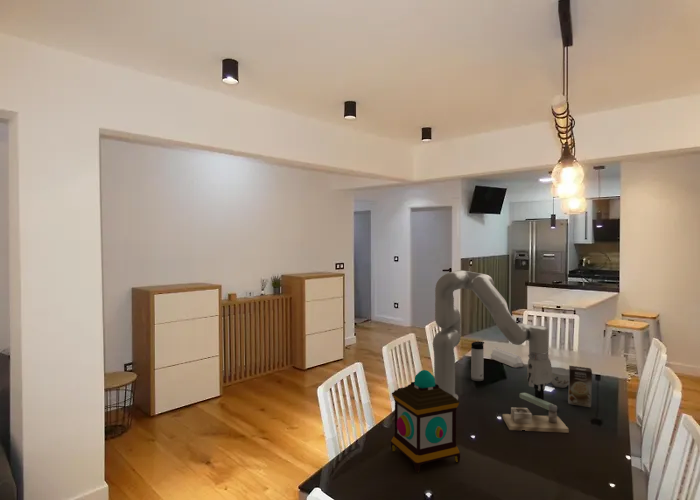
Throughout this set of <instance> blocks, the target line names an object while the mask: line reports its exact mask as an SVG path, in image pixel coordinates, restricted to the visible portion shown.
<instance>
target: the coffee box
mask: <svg viewBox="0 0 700 500" xmlns="http://www.w3.org/2000/svg"><path fill="white" fill-rule="evenodd" d="M568 369H569V385H568V393H567V401H568V402H567V403H568V405H573V406H574V405H575V406H578V407H579V406H580V407H586V408H592V387H593V386H592V379H593V377H592V376H593V371H592V368H591V367H583V366H576V365H569V368H568Z"/></svg>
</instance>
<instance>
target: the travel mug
mask: <svg viewBox="0 0 700 500" xmlns="http://www.w3.org/2000/svg"><path fill="white" fill-rule="evenodd" d="M484 344H485V342H484V341H473V342H471V345H470V346H471V347H470V348H471V352H470V353H471V355H470V356H471V357H470V359H471V361H470V372H471V373H470V376H471V377H470V379H471V380H472V381H474V382H481V381H484V360H485V359H484V357H485V356H484V354H485V353H484V349H485V348H484Z"/></svg>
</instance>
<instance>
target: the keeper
mask: <svg viewBox="0 0 700 500" xmlns="http://www.w3.org/2000/svg"><path fill="white" fill-rule="evenodd" d="M519 398H520V399H522V400H524V401H527V402H529V403H531V404H533V405H536V406H537V407H541V408H542V409H545V410H547V411H548V412H549V411H552V412H557V413H558V406H557V405H556V404H553V403H551V402H549V401H547V400H542V399H539V398H537V397H535V395H532V394H530V393H528V392H520V393H519Z"/></svg>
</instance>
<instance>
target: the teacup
mask: <svg viewBox="0 0 700 500" xmlns="http://www.w3.org/2000/svg"><path fill="white" fill-rule="evenodd" d="M551 367H552V381H551V382H550V383H551V384H552V386H553V387H556V388H562V389H565V388H567V387H568V386H569V368H564V367H560V366H559V367H557V366H556V367H553V366H551Z"/></svg>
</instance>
